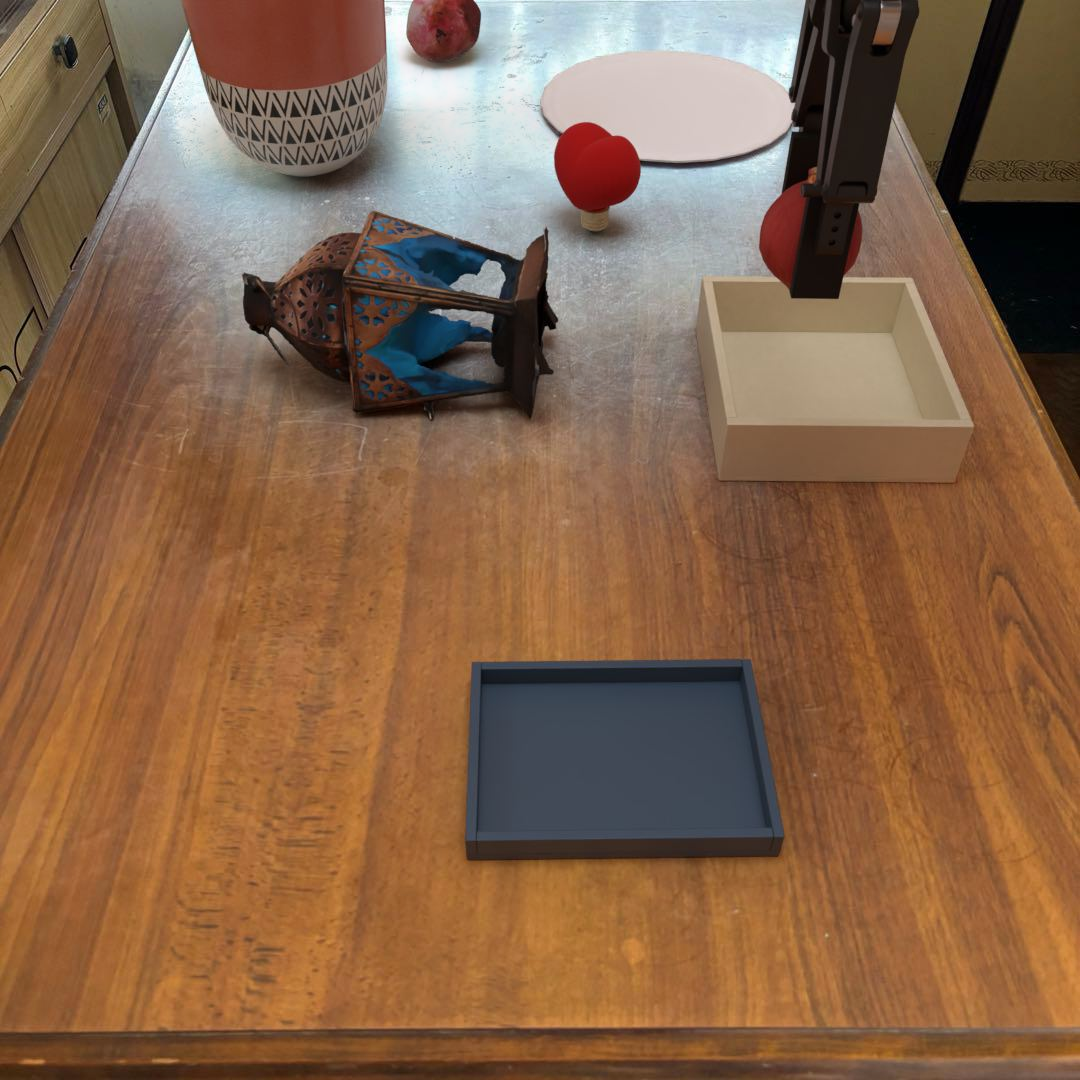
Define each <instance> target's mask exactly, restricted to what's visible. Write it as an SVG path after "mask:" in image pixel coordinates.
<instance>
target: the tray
mask: <svg viewBox="0 0 1080 1080" xmlns="http://www.w3.org/2000/svg"><path fill="white" fill-rule="evenodd" d="M470 668H471V669H470V695H469V721H468V722H469V724H468V748H467V749H468V750H467V751H468V752H467V778H466V779H467V780H466V804H465V805H466V806H465V807H466V808H465V833H464V843H465V853H466V860H467V861H481V860H483V861H484V860H485V861H486V860H556V859H557V860H559V859H560V860H561V859H564V860H565V859H567V860H569V859H638V858H639V859H640V858H643V859H645V858H646V859H647V858H715V857H719V858H720V857H724V858H726V857H778V856H780V853H781V849H782V846H783V844H784V840H785V837H786V836H785V830H784V825H783V820H782V814H781V810H780V803H779V799H778V794H777V793H778V792H777V788H776V783H775V777H774V772H773V767H772V762H771V757H770V751H769V746H768V741H767V737H766V730H765V725H764V719H763V716H762V715H763V714H762V711H761V710H762V709H761V704H760V701H759V694H758V689H757V684H756V677H755V673H754V672H755V671H754V669H753V662H752V659H751V658H742V659H741V658H715V659H714V658H712V659H710V658H709V659H705V658H703V659H621V660H619V659H611V660H605V659H604V660H603V659H602V660H523V661H522V660H521V661H519V660H518V661H517V660H516V661H515V660H513V661H510V660H509V661H471V666H470Z"/></svg>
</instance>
